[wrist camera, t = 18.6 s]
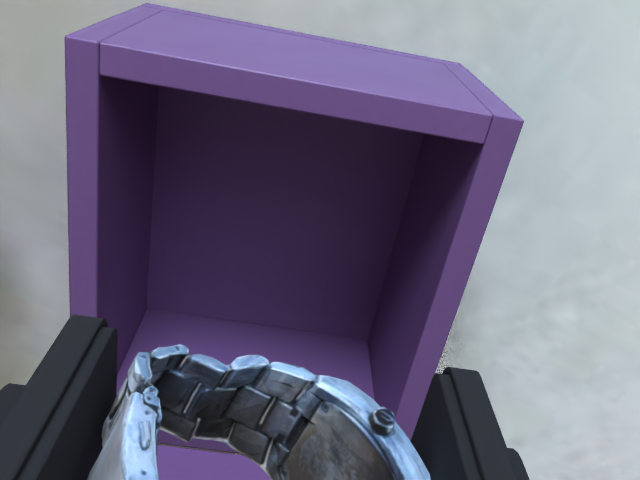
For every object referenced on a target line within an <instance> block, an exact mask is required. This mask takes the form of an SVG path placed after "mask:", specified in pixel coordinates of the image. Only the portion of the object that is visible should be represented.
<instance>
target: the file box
mask: <svg viewBox="0 0 640 480" xmlns="http://www.w3.org/2000/svg"><path fill="white" fill-rule="evenodd" d="M65 77H66V130H67V183H68V236H69V289H70V317H71V316H72V315H74V314H76V315H83V316H90V317H97V318H104V319H106V320H107V322H108V327H109V328H116V329H117V332H118V342H117V389H116V397H117V394H118V392H119V390H120V388H121V386H122V384H123V382H124V380H125V378H126V376H127V372H128V369H129V368H130V366H131V364H132V362H133V360H134V358H135V357H136V355H137V354H138V353H139V352H151V351H153V350H155V349H157V348H158V347H168V346H174V345H179V344H181V345H184V346H186V347H187V348H188V349H189V352H188V355H195V354H202V355H205V356H209V357H212V358H215V359H217V360H218V361H220V362H222V363H223V364H225V365H229V364H231V363H232V362H233V361H234V360H235V359H236V358H237V357H242V356H246V355H260V356H262V357H265V358H266V359H267V360H268V361H270V362H283V363H288V364H293V365H297V366H299V367H304V368H305V369H306V370H308V371H309V372H311V373H313V374H315V375H323V376H330V377H334V378H338V379H342V380H346V381H349V382H350V383H352V384H353V385H355V386H356V387H358V388H359V389H360V390H362V391H363V392H364V393H366V394H367V395H368V396H369V397H371V398H372V399H373V400H374V401H375V402H376V403H377V404H378V405H379V406H380V407H385V408H387V409H388V410H390V411H391V412H393V414H394V417H395V419H396V421H395V422H396V423H397V424H398V425H399V427H400V428H401V429H402V430H403V432H404V433H405V434H406V436H407V437H408V439H409V440H410V441H411V438H412V435H413V432H414V430H415V427H416V424H417V421H418V418H419V415H420V412H421V409H422V406H423V403H424V401H425V398H426V395H427V392H428V389H429V386H430V383H431V380H432V378H433V376H434V374H435V371H436V369H437V366H438V363H439V360H440V357H441V354H442V352H443V349H444V346H445V343H446V340H447V337H448V335H449V332H450V329H451V326H452V323H453V320H454V318H455V315H456V312H457V309H458V306H459V304H460V301H461V298H462V295H463V292H464V289H465V287H466V284H467V281H468V278H469V275H470V272H471V270H472V267H473V264H474V261H475V258H476V255H477V253H478V250H479V247H480V244H481V241H482V239H483V236H484V233H485V230H486V227H487V224H488V222H489V219H490V216H491V213H492V210H493V207H494V205H495V202H496V199H497V196H498V193H499V191H500V188H501V185H502V182H503V179H504V176H505V174H506V171H507V168H508V165H509V162H510V159H511V157H512V154H513V151H514V148H515V145H516V142H517V140H518V137H519V134H520V131H521V128H522V126H523V123H524V120H523V119H522V118H521V117H519V116H518V115H517V114H516V113H515V112H514V111H513V110H512V109H511V108H509V107H508V106H507V105H506V104H505V103H504V102H503V101H502V100H501V99H500V98H498V97H497V96H496V95H495V94H494V93H493V92H492V91H491V90H490V89H488V88H487V87H486V86H485V85H484V84H483V83H482V82H481V81H480V80H478V79H477V78H476V77H475V76H474V75H473V74H472V73H471V72H470V71H469V70H467V69H466V68H465V67H464V66H462V65H461V64H460V63H455V62H450V61H445V60H439V59H434V58H429V57H424V56H419V55H413V54H408V53H403V52H398V51H393V50H387V49H382V48H377V47H372V46H367V45H361V44H356V43H351V42H346V41H340V40H335V39H330V38H325V37H320V36H314V35H309V34H304V33H299V32H294V31H288V30H283V29H278V28H273V27H268V26H262V25H257V24H252V23H247V22H242V21H236V20H231V19H226V18H221V17H216V16H210V15H205V14H200V13H195V12H190V11H184V10H179V9H174V8H169V7H164V6H158V5H153V4H148V3H146V4H143V5H140V6H138V7H136V8H133V9H131V10H128V11H126V12H123V13H121V14H118V15H116V16H113V17H111V18H108V19H106V20H103V21H101V22H98V23H96V24H93V25H91V26H88V27H86V28H83V29H81V30H78V31H76V32H73V33H71V34H69V35H66V36H65ZM157 443H160V444H168V445H176V446H184V447H192V448H200V449H208V450H216V451H223V452H231V453H239V452H237V451H235V450H233V449H232V448H231V447H230V446H229V445H228V444H226V443H223V442H220V441H214V440H203V439H196V438H192V439H191V440H190V441H189V442H188V443H187V442H185V441H183V440H181V439H179V438H177V437H175V436H173V435H171V434H169V433H167V432H165V431H162V430H160V429H159V433H158V438H157ZM239 454H241V453H239Z"/></svg>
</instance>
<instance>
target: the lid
mask: <svg viewBox="0 0 640 480" xmlns="http://www.w3.org/2000/svg"><path fill="white" fill-rule="evenodd" d="M156 464H157V469H158V474H159V480H271V478H270V477H269V476H268V475H267V474H266V472H265V471H264V470H263V469H262V468H261V467H260V466H258V465H257V464H256V463H254V462H253V461H251V460H250V459H249V458H247V457H246V456H243V455H235V454H227V453H220V452H212V451H204V450H196V449H188V448H180V447H172V446H164V445H157V463H156Z"/></svg>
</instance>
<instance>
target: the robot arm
mask: <svg viewBox="0 0 640 480" xmlns="http://www.w3.org/2000/svg"><path fill="white" fill-rule="evenodd" d="M117 342H118V332H117V329H116V328H109V327H108V322H107V320H106V319H104V318H97V317H90V316H83V315H76V314H74V315H72V316H71V317H70V318H69V320H68V321H67V323H66V324H65V326H64V327H63V329H62V330H61V332H60V334H59V335H58V337H57V338H56V340H55V341H54V343H53V344H52V346H51V347H50V349H49V351H48V352H47V354H46V355H45V357H44V358H43V360H42V361H41V363H40V364H39V366H38V367H37V369H36V371H35V372H34V374H33V375H32V377H31V378H30V380H29V381H28V383H27V384H26V385H18V384H10V383H9V384H8V385H6V386H4V387H3V388H2V390H1V391H0V480H87V479H88V476H89V473H90V470H91V469H92V467H93V465H94V464H95V462H96V460H97V459H98V457H99V455H100V453H101V450H102V448H103V447H102V436H101V435H102V429H103V425H104V421H105V420H106V418H107V416H108V414H109V413H110V410H111V408H112V406H113V404H114V401H115V399H116V389H117ZM410 442H411V443H412V445H413V446H414V448H415V450H416V451H417V453H418V455H419V456H420V458H421V459H422V461H423V463H424V465H425V467H426V469H427V470H428V472H429V474H430V478H431V480H529V477H528V475H527V472H526V470H525V467H524V464H523V462H522V460H521V458H520V456H519V454H518V453H517V452H516V451H515V450H514V449H511V448H507V447H506V444H505V441H504V439H503V436H502V433H501V431H500V428H499V425H498V422H497V420H496V417H495V414H494V411H493V409H492V406H491V403H490V401H489V398H488V395H487V392H486V390H485V387H484V384H483V381H482V379H481V376H480V374H479V373H478V372H477V371H474V370H467V369H459V368H452V367H446V368H445V370H444V371H443V373H442V374H439V373H436V374H434V376H433V378H432V380H431V383H430V386H429V389H428V392H427V395H426V398H425V401H424V403H423V406H422V409H421V412H420V415H419V418H418V421H417V424H416V427H415V430H414V432H413V435H412V438H411V441H410Z"/></svg>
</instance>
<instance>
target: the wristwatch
mask: <svg viewBox="0 0 640 480" xmlns="http://www.w3.org/2000/svg"><path fill="white" fill-rule="evenodd" d="M188 352H189V349H188V348H187V347H186V346H184V345H181V344H179V345H174V346H168V347H158V348H157V349H155V350H153V351H151V352H139V353H138V354H137V355H136V357H135V358H134V360H133V362H132V364H131V366H130V368H129V369H128V372H127V376H126V378H125V380H124V382H123V384H122V386H121V388H120V390H119V392H118V394H117V397H116V399H115V401H114V404H113V406H112V408H111V410H110V413H109V414H108V416H107V418H106V420H105V421H104V425H103V429H102V435H101V436H102V447H103V448H102V450H101V453H100V455H99V457H98V459H97V460H96V462H95V464H94V465H93V467H92V469H91V470H90V473H89V476H88V479H87V480H159V474H158V469H157V464H156V463H157V438H158V433H159V429H160V430H162V431H165V432H167V433H169V434H171V435H173V436H175V437H177V438H179V439H181V440H183V441H185V442H187V443H188V442H189V441H190V440H191V439H192V438H196V439H203V440H214V441H220V442H223V443H226V444H228V445H229V446H230V447H231V448H232V449H233V450H235V451H237V452H239V453H241V454H243V455H244V456H246V457H247V458H249V459H250V460H251V461H253V462H254V463H256V464H257V465H258V466H260V467H261V468H262V469H263V470H264V471H265V472H266V474H267V475H268V476H269V477H270V478H271V480H431V478H430V474H429V472H428V470H427V469H426V467H425V465H424V463H423V461H422V459H421V458H420V456H419V455H418V453H417V451H416V450H415V448H414V446H413V445H412V443H411V442H410V440H409V439H408V437H407V436H406V434H405V433H404V432H403V430H402V429H401V428H400V427H399V425H398V424H397V423H396V422H395V421H396V419H395V417H394V414H393V412H391V411H390V410H388V409H387V408H385V407H380V406H379V405H378V404H377V403H376V402H375V401H374V400H373V399H372V398H371V397H369V396H368V395H367V394H366V393H364V392H363V391H362V390H360V389H359V388H358V387H356V386H355V385H353V384H352V383H350V382H349V381H346V380H342V379H338V378H334V377H330V376H323V375H315V374H313V373H311V372H309V371H308V370H306V369H305V368H304V367H299V366H297V365H293V364H288V363H283V362H270V361H268V360H267V359H266V358H265V357H262V356H260V355H246V356H242V357H237V358H236V359H235V360H234V361H233V362H232V363H231V364H229V365H225V364H223V363H222V362H220V361H218V360H217V359H215V358H212V357H209V356H205V355H202V354H195V355H188Z"/></svg>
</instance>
